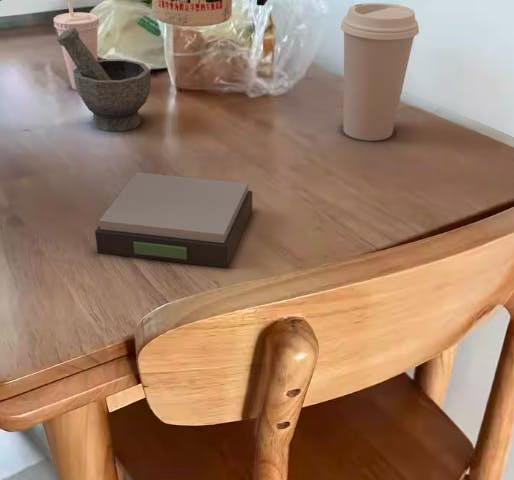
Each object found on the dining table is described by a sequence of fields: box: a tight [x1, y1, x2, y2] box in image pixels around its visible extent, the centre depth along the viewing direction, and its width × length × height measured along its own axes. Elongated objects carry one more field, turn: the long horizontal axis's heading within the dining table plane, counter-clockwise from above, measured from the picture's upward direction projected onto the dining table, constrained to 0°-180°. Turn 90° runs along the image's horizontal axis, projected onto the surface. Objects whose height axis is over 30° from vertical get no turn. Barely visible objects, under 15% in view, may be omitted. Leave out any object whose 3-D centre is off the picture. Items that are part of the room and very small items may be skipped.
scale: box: [94, 172, 253, 269], centre depth 74 cm, size 13×12×3 cm
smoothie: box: [53, 0, 101, 91], centre depth 105 cm, size 6×6×14 cm
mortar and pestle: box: [57, 28, 152, 132], centre depth 95 cm, size 11×9×12 cm
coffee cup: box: [340, 2, 420, 142], centre depth 93 cm, size 10×10×15 cm
